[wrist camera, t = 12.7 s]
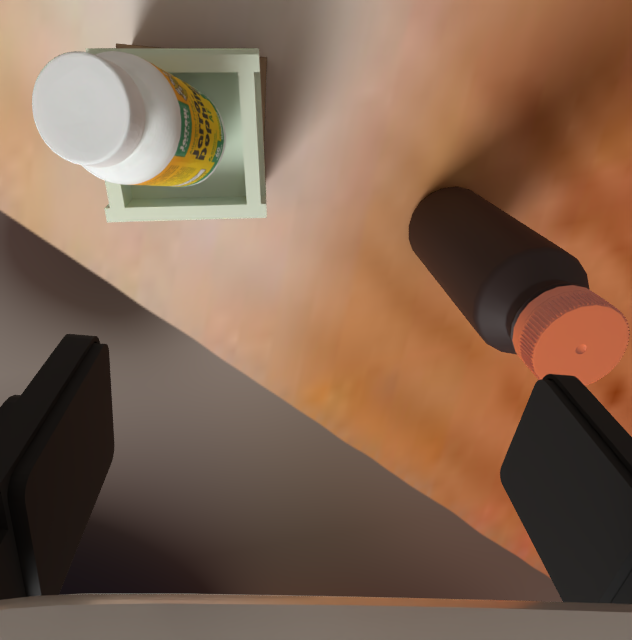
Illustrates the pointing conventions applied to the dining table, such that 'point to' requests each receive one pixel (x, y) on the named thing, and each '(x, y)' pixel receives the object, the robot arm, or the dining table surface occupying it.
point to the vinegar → (517, 287)
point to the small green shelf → (240, 151)
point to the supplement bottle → (127, 120)
